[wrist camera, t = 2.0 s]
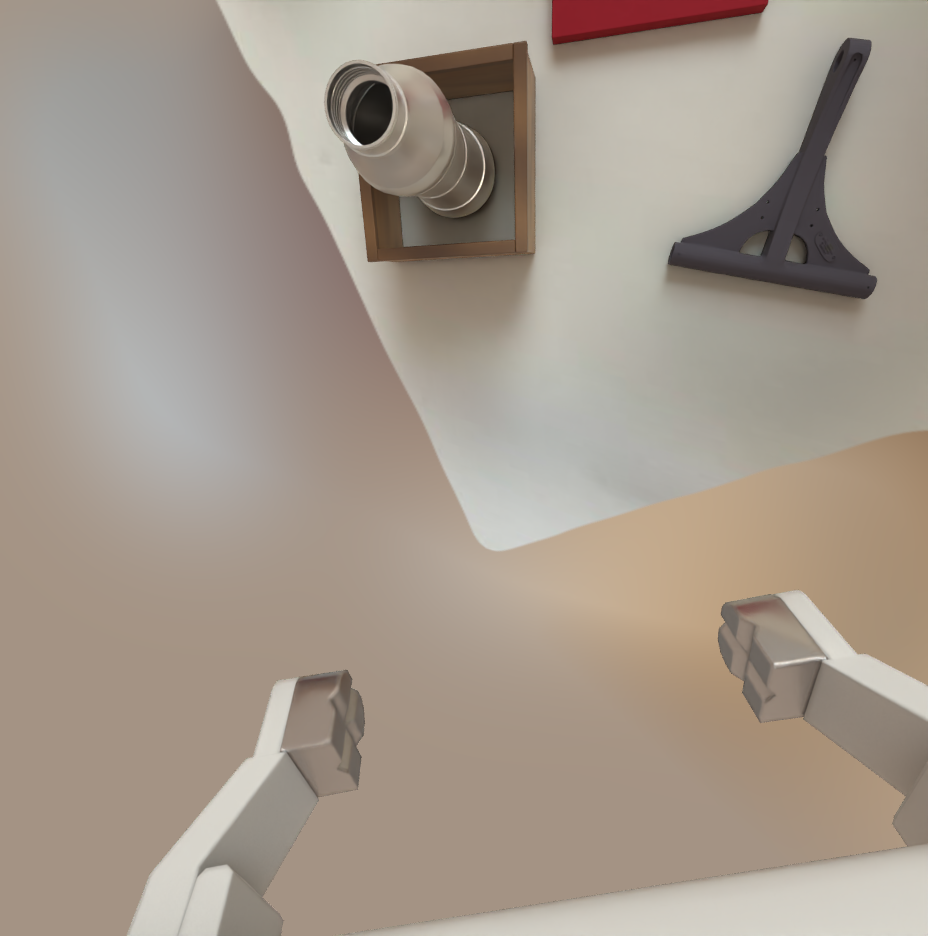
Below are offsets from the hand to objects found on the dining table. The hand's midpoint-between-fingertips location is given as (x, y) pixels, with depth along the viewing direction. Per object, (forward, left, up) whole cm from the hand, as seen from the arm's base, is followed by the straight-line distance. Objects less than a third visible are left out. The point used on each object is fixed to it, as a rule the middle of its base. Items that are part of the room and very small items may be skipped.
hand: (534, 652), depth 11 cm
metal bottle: (-16, -10, -38) cm, 42 cm away
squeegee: (-14, +15, -38) cm, 43 cm away
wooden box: (-16, -10, -38) cm, 42 cm away
